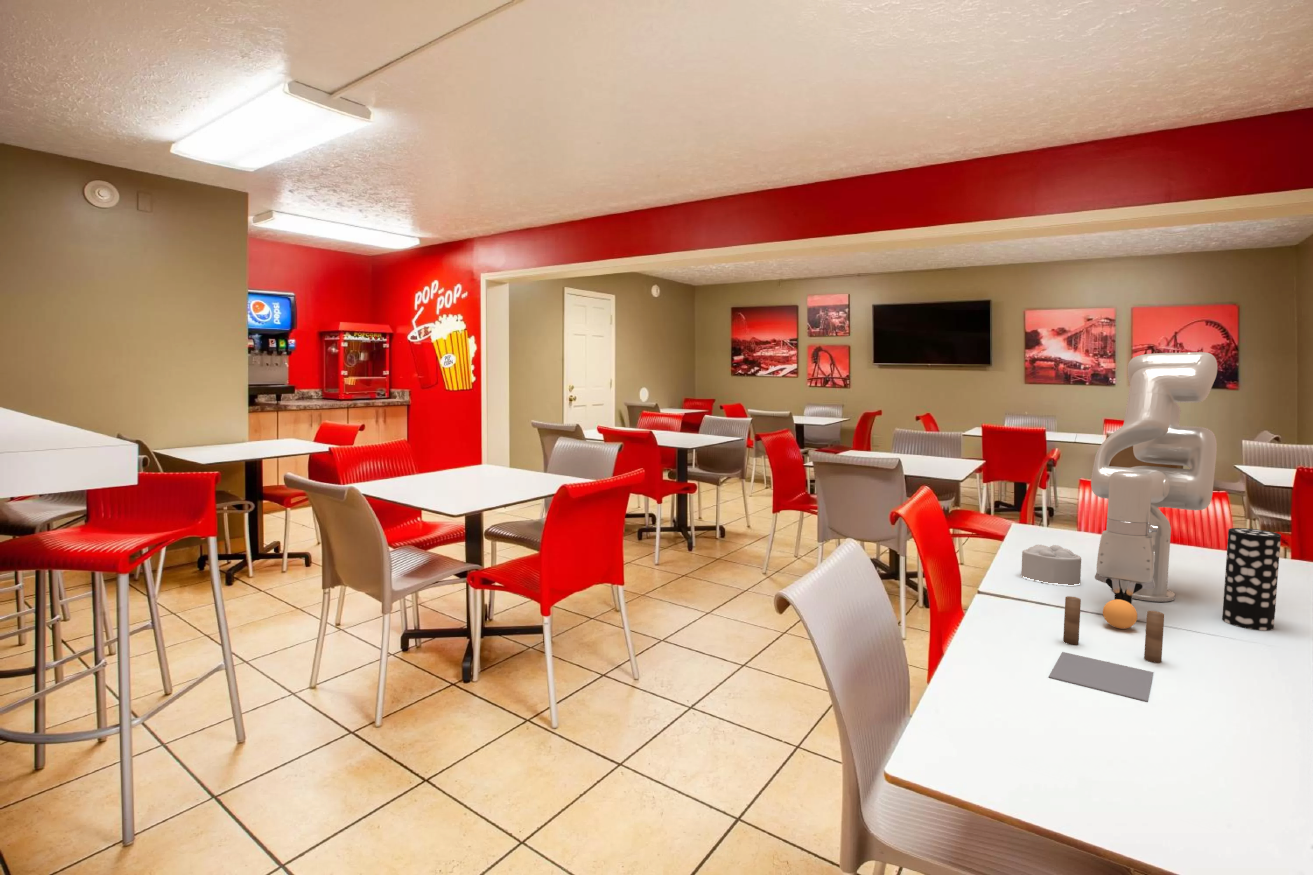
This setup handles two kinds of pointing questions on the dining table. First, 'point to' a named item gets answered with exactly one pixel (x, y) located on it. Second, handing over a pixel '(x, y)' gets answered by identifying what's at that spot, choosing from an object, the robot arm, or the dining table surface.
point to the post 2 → (1154, 636)
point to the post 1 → (1072, 620)
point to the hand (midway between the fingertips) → (1122, 610)
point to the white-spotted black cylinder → (1251, 578)
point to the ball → (1120, 614)
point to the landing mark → (1103, 676)
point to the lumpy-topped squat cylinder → (1051, 564)
